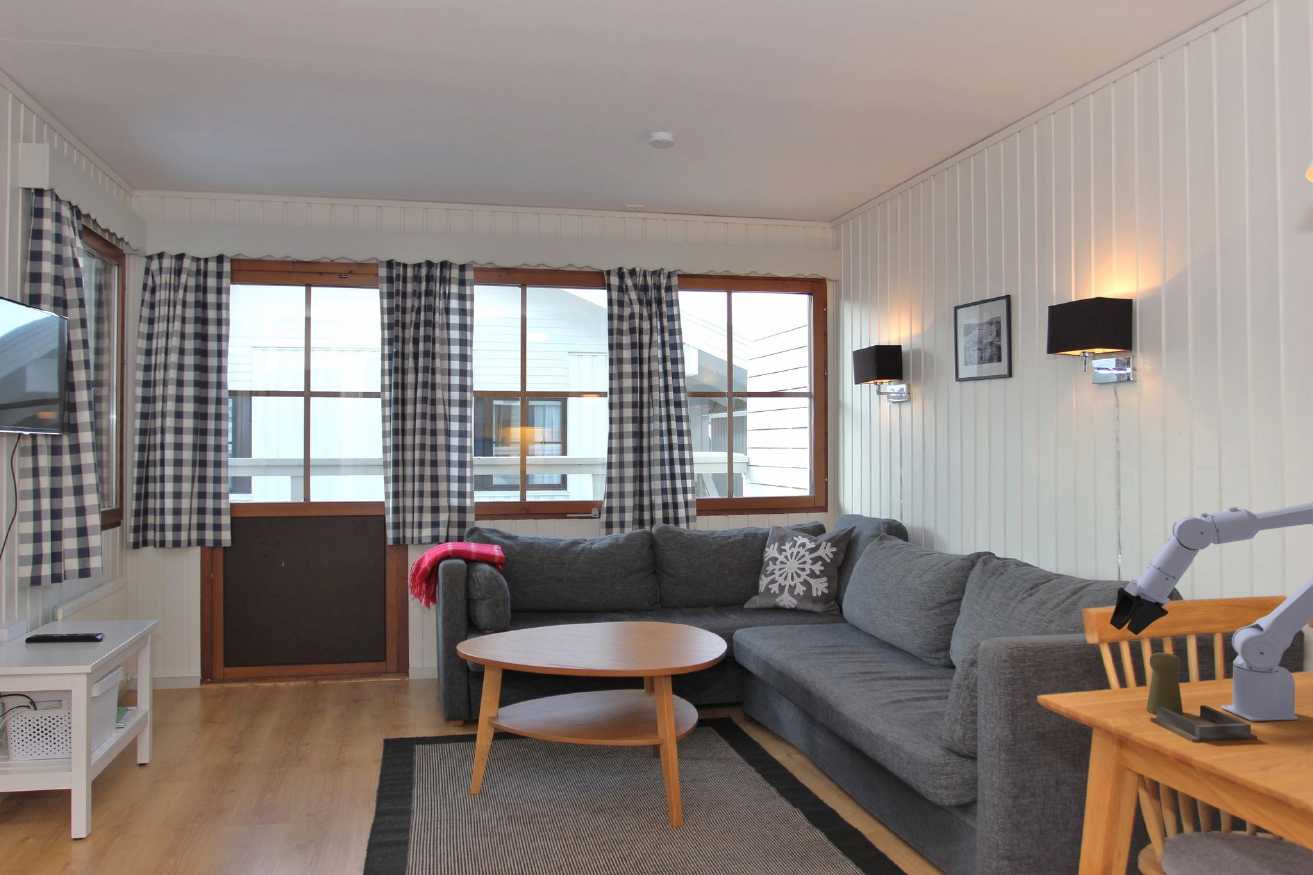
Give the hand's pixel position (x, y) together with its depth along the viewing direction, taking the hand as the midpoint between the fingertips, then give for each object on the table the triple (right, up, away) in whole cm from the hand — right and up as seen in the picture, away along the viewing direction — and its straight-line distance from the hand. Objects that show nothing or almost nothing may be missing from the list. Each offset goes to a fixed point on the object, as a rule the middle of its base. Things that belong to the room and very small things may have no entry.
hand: (1123, 629), depth 178 cm
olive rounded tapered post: (+4, -14, -7) cm, 16 cm away
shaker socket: (+5, -14, -16) cm, 22 cm away
